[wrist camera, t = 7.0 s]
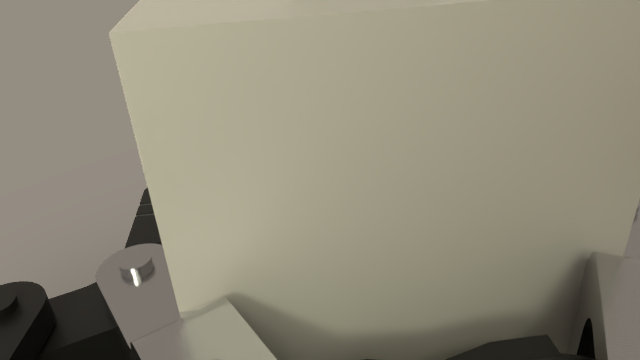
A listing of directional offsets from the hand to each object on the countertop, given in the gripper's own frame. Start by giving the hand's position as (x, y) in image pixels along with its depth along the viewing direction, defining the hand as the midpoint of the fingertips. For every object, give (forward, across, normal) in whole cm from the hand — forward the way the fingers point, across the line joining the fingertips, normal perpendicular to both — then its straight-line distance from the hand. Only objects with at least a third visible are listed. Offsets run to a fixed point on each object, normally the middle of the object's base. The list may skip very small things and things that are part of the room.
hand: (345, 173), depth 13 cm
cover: (-2, 0, +7) cm, 7 cm away
